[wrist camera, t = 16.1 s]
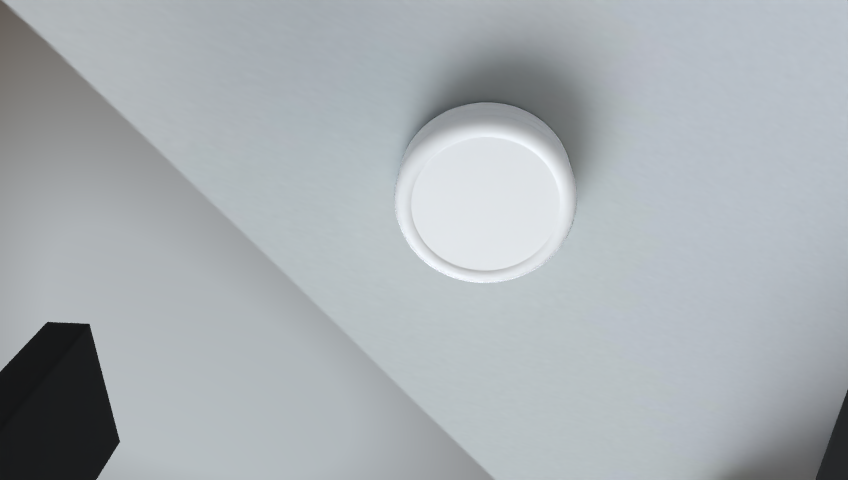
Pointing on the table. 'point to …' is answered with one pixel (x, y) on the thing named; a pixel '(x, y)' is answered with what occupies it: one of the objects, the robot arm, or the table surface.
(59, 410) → the robot arm
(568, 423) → the table surface
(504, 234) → the white round disc
